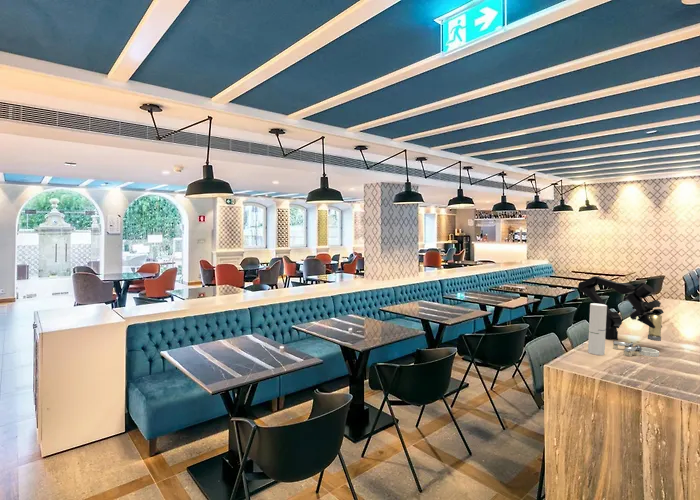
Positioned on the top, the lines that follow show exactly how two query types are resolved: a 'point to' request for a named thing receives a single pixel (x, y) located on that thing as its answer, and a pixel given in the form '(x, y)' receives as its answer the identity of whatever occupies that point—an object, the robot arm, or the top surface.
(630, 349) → the shaft
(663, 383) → the top surface
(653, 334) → the tan cylindrical piece
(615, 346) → the shaft
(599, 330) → the light grey tall block
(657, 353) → the socket ring
